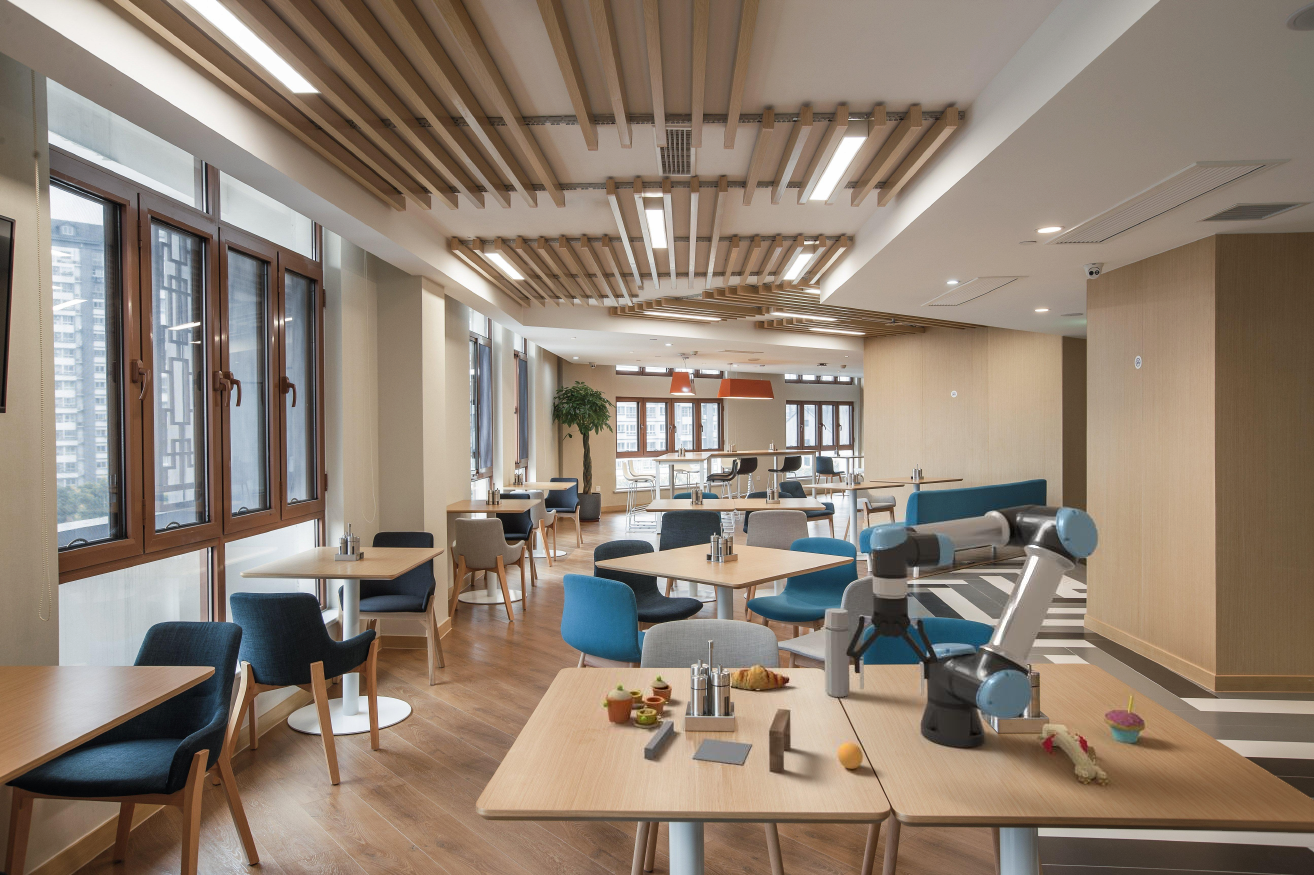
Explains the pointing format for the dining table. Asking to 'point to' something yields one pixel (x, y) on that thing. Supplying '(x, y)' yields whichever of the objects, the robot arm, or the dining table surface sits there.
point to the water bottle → (836, 652)
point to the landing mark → (722, 751)
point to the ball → (850, 755)
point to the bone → (1073, 752)
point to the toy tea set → (638, 704)
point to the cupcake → (1125, 724)
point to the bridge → (779, 740)
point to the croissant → (758, 678)
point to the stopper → (658, 740)
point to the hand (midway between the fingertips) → (891, 690)
